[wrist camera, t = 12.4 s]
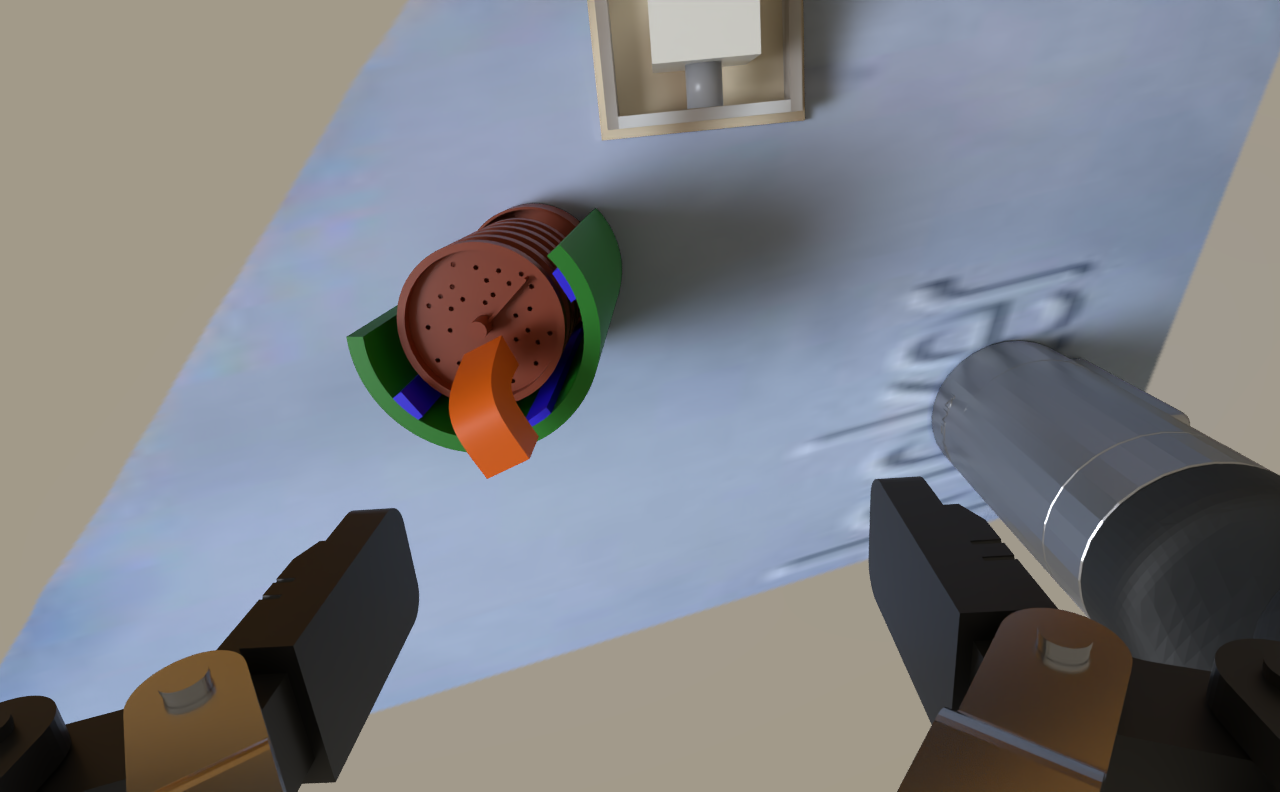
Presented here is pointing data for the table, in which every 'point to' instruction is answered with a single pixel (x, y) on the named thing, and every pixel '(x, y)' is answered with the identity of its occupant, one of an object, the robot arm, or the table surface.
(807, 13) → the table surface
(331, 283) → the table surface
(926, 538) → the robot arm
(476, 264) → the green cutaway cylinder
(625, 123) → the mount pocket
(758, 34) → the cream cube on peg
